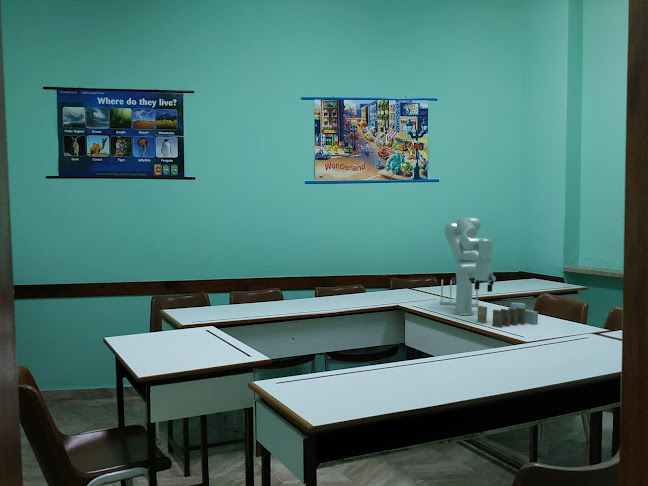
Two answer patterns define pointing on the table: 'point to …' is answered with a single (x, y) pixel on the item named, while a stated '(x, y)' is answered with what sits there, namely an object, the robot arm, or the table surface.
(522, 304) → the medicine box
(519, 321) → the domino
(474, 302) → the file sorter
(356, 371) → the table surface
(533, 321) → the bookend block
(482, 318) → the domino
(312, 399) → the table surface
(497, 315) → the domino
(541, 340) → the table surface
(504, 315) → the domino
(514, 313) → the domino
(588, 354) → the table surface
